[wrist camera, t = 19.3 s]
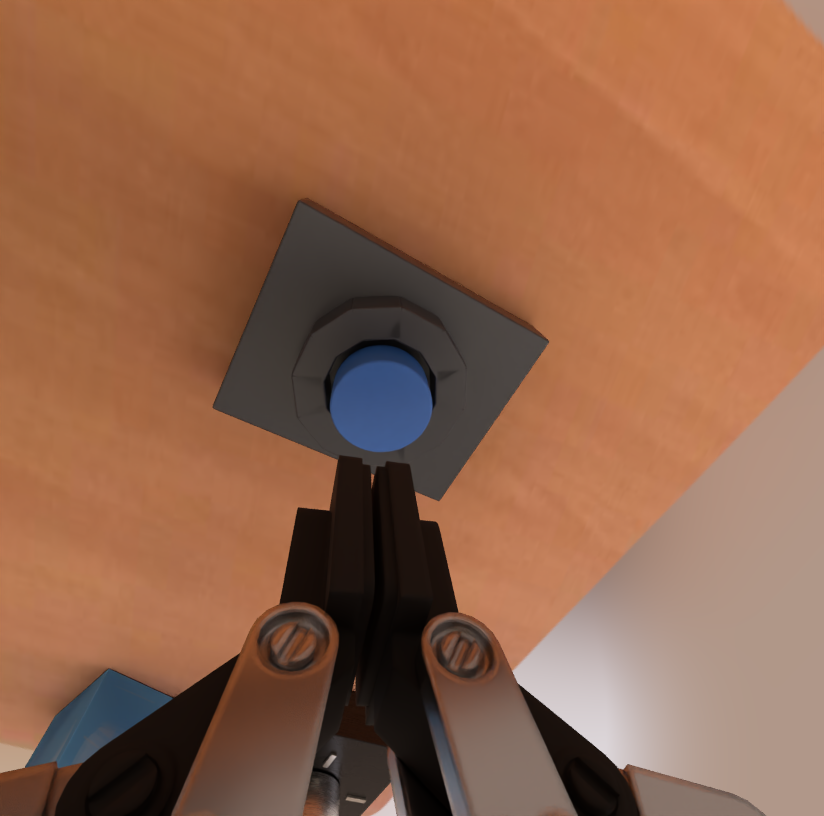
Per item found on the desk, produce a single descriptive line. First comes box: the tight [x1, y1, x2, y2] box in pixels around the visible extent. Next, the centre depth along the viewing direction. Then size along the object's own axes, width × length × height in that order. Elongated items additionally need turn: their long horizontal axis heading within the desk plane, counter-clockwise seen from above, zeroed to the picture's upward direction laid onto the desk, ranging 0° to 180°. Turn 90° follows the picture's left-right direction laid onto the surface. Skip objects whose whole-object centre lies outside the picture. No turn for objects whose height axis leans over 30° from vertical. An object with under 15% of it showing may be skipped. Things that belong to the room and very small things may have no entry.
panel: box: [312, 692, 391, 816], centre depth 32 cm, size 10×12×3 cm
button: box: [330, 345, 433, 452], centre depth 17 cm, size 4×4×2 cm
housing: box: [213, 198, 549, 501], centre depth 19 cm, size 11×9×4 cm
